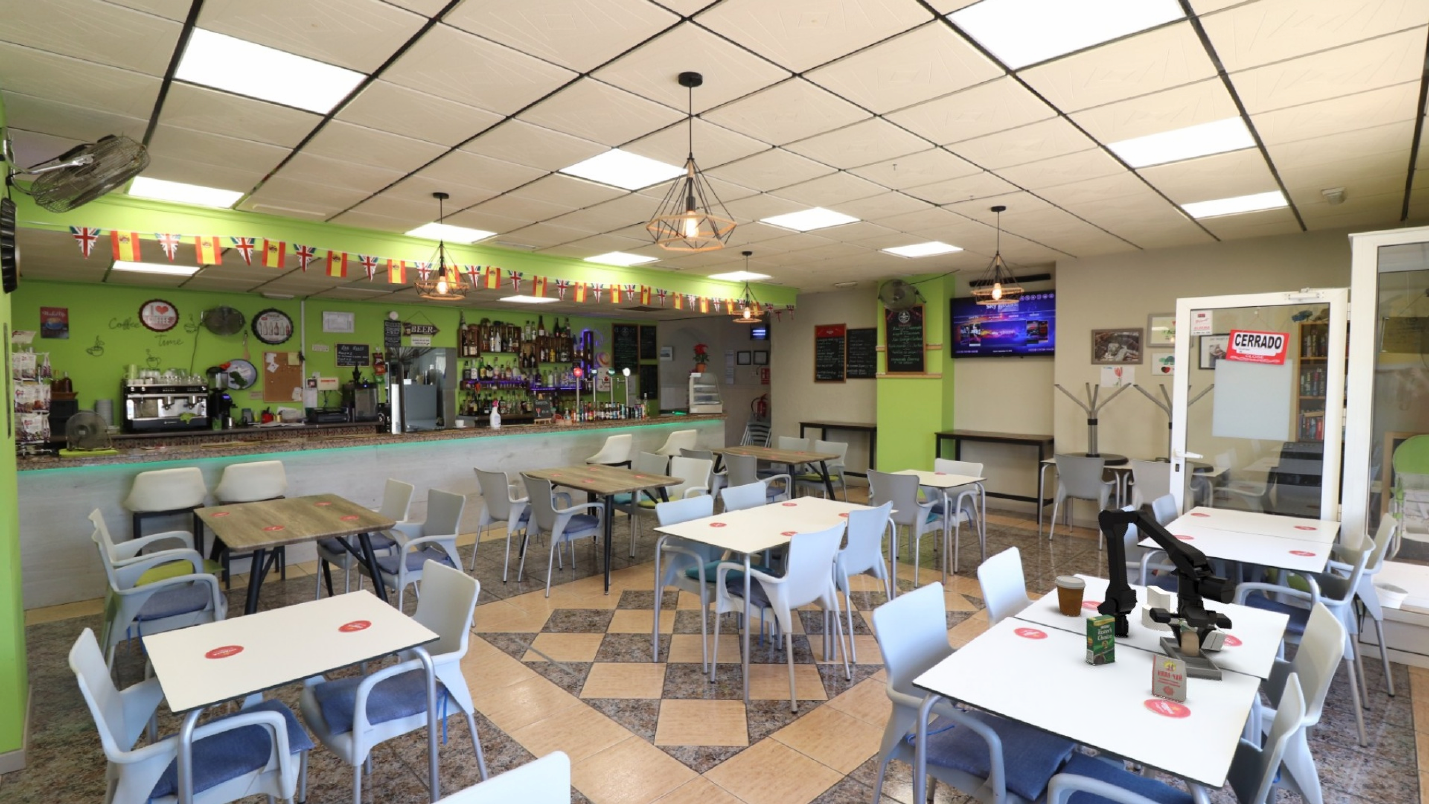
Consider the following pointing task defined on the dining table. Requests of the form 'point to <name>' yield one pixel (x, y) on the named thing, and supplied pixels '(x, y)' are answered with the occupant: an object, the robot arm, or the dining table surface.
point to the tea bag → (1169, 678)
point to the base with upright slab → (1156, 600)
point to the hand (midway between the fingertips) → (1189, 647)
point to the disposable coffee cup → (1070, 594)
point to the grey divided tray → (1192, 661)
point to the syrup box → (1212, 640)
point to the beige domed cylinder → (1189, 643)
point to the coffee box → (1100, 639)
